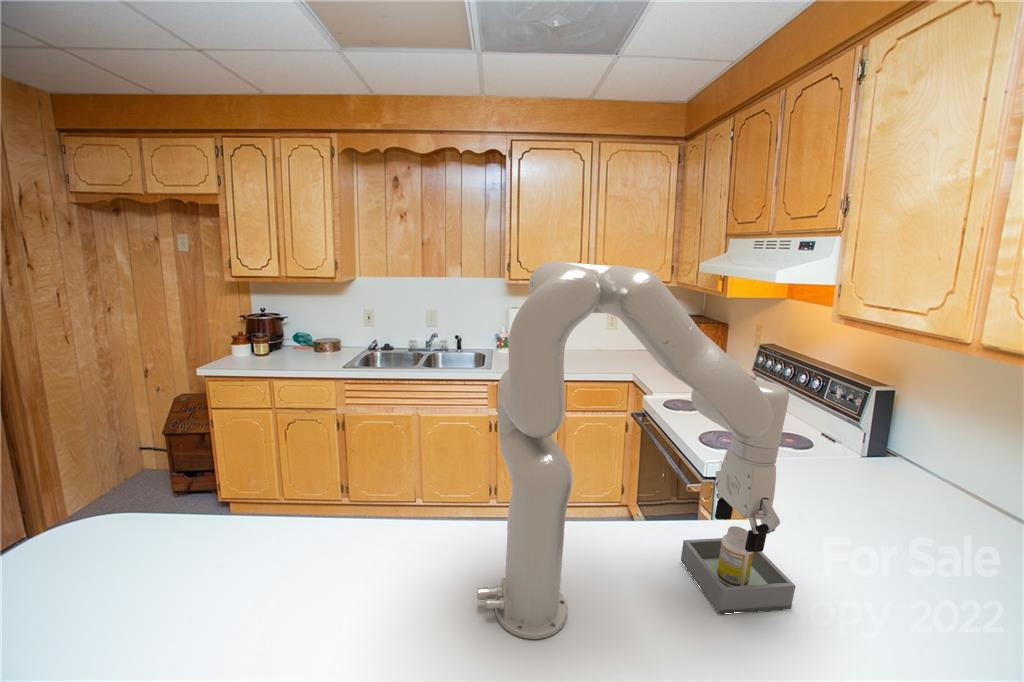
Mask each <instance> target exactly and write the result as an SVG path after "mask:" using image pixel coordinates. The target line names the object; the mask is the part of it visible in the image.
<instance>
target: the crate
mask: <svg viewBox="0 0 1024 682" xmlns="http://www.w3.org/2000/svg"><path fill="white" fill-rule="evenodd" d="M722 538H723V537H722ZM722 538H721V537H718V538H717V537H716V538H703V539H702V538H699V539H697V538H696V539H683V543H682V548H681V549H682V550H681V556H680V562H681V561H682V563H683V564H684V565H685V567H686V568H687V570H688V571H689V572H690V574H691V575H692V577H693V578H694V579H695V581H696V582H697V584H698V585H699V586H700V588H701V589H700V588H699V589H700V591H701V590H702V591H703V592H702V591H701V592H702V593H704V594H705V595H704V594H703V595H704V596H705V598H706V597H707V598H708V599H707V598H706V599H707V601H708V602H709V601H710V602H709V603H710V605H711V604H712V605H713V606H712V605H711V606H712V608H713V609H714V608H715V609H716V610H715V609H714V610H715V612H716V611H717V612H718V613H717V612H716V613H717V614H718V615H719V614H725V613H734V612H753V613H759V612H758V611H766V612H772V611H771V610H779V611H784V610H783V609H791V610H792V605H793V601H794V596H795V591H796V584H794V582H792V580H791V579H789V577H788V576H787V575H785V574H784V572H782V570H780V568H779V567H778V566H777V565H775V563H774V562H773V561H772V560H770V558H769V557H768V556H767V555H766V554H765V553H764V552H763V551H762V552H753V558H752V564H751V570H750V577H749V582H748V585H747V586H732V587H730V586H728V585H726V584H725V583H723V582H722V581H721V580H720V579H719V577H718V575H717V569H718V562H719V555H720V549H721V542H722ZM682 563H681V564H682ZM683 564H682V565H683ZM685 567H684V568H685ZM686 568H685V569H686ZM687 570H686V571H687ZM688 571H687V572H688ZM690 574H689V575H690ZM691 575H690V576H691ZM692 577H691V578H692ZM693 578H692V579H693ZM695 581H694V582H695ZM696 582H695V583H696ZM697 584H696V585H697ZM698 585H697V586H698Z"/></svg>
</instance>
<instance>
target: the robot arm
mask: <svg viewBox="0 0 1024 682" xmlns="http://www.w3.org/2000/svg"><path fill="white" fill-rule="evenodd" d="M527 288H528V289H527V290H528V295H529V296H528V297H527V298H526V299H525V301H524V302H523V303H522V305H521V307H520V308H519V309H518V311H517V313H515V317H514V318H513V321H512V324H511V325H510V326H511V327H510V331H509V335H508V336H509V337H508V368H507V369H506V371H504V373H503V374H502V375H501V377H500V379H499V381H498V386H497V390H496V400H497V401H496V402H497V403H496V404H497V420H498V421H497V422H498V437H499V439H498V440H499V448H500V453H501V457H502V460H503V461H504V464H505V466H506V469H507V472H508V475H509V477H510V482H511V496H510V501H509V505H508V510H507V526H506V530H507V532H506V533H507V534H506V535H507V536H506V550H505V551H506V552H505V553H506V557H505V573H504V574H505V576H504V577H501V583H500V584H495V587H488V586H487V587H485V586H484V587H478V588H477V600H478V601H485V609H486V610H494V612H495V617H496V618H497V621H498V622H499V623H500V625H501V627H503V628H504V629H505V630H506V631H508V632H509V633H511V634H513V635H515V636H518V637H519V638H524V639H530V640H537V639H538V640H540V639H545V638H548V637H551V636H553V635H555V634H556V633H557V632H559V631H560V630H561V629H562V628H563V627H564V625H565V624H566V622H567V617H568V609H569V608H568V603H567V600H566V598H565V597H564V595H563V594H562V593H561V582H562V581H561V580H562V568H563V567H562V566H563V555H564V554H563V552H564V542H565V539H564V538H565V528H566V527H565V524H566V515H567V514H566V513H567V508H568V503H569V499H570V495H571V492H572V488H573V481H574V479H573V471H572V467H571V465H570V462H569V460H568V458H567V455H566V454H565V453H564V451H563V450H562V448H561V447H560V445H559V444H558V442H557V441H556V440H555V438H554V437H553V435H554V434H555V433H556V432H558V431H559V429H560V427H561V426H562V424H563V422H564V419H565V414H566V400H565V399H566V397H565V368H564V367H565V366H564V364H565V348H566V345H567V342H568V339H569V337H570V335H571V333H572V332H573V331H574V329H576V327H577V326H578V325H579V324H581V323H582V322H583V321H584V320H586V319H587V318H588V317H590V315H591V314H609V315H611V316H615V317H617V318H618V319H619V320H620V321H621V322H622V323H623V324H624V325H625V326H626V327H627V329H628V330H629V331H630V332H631V333H632V335H633V336H635V338H636V339H637V340H638V342H640V343H641V345H642V346H643V347H644V348H645V349H646V351H647V352H648V353H649V355H651V357H652V358H653V359H654V360H655V361H656V362H657V364H659V365H660V366H661V367H662V368H663V369H664V370H665V371H667V372H668V373H669V374H670V375H672V376H673V377H675V378H676V379H678V380H679V381H681V382H682V383H684V384H685V385H687V386H688V387H690V388H691V389H692V391H691V396H690V398H691V403H692V406H693V407H694V408H695V410H696V411H697V412H698V413H699V414H700V415H702V416H704V417H705V418H707V419H708V420H710V421H711V422H713V423H715V424H716V425H719V426H720V427H722V429H723V428H724V429H725V430H727V431H729V432H730V433H731V434H732V437H731V443H730V446H729V447H728V448H727V450H726V453H725V454H724V457H723V460H722V463H721V467H720V470H716V471H715V478H716V483H715V487H716V491H717V493H716V499H717V503H716V507H715V513H714V519H716V520H718V521H720V520H721V521H722V520H723V521H725V520H728V521H729V520H731V519H732V515H733V510H734V511H736V512H737V513H738V514H739V515H740V516H741V517H743V518H744V519H748V521H749V525H750V529H749V530H747V531H748V536H747V541H746V546H745V550H746V551H747V552H763V551H764V549H765V543H766V539H767V535H769V534H770V533H773V532H774V531H775V530H776V528H777V527H779V525H780V524H781V521H780V518H779V516H778V515H777V513H776V511H775V509H774V507H773V506H774V505H773V504H774V500H775V492H776V481H777V466H776V463H777V457H778V454H779V448H780V444H781V439H782V435H783V431H784V430H783V429H784V425H785V421H786V415H787V411H788V410H787V409H788V406H789V405H788V404H789V400H790V395H789V394H790V393H789V391H788V389H787V388H786V387H784V386H783V385H780V384H778V383H774V382H772V381H767V380H766V381H765V380H760V379H759V380H755V379H753V377H751V375H750V374H749V373H748V372H747V371H746V370H745V369H744V368H743V367H742V366H741V365H740V364H738V362H736V361H735V360H734V359H733V358H732V357H731V356H730V355H728V353H726V352H725V351H724V350H723V349H722V348H721V347H720V346H719V345H718V344H717V343H715V342H714V341H713V340H712V339H711V338H710V337H709V336H707V335H706V334H705V333H704V332H703V331H702V330H701V329H700V327H698V325H697V324H696V322H695V321H694V320H693V319H692V318H691V316H690V315H689V313H687V311H686V310H685V309H684V307H683V306H682V305H681V304H680V303H679V301H678V300H677V299H676V297H675V296H674V295H673V293H672V292H671V291H670V289H668V287H667V286H666V285H665V283H664V282H663V281H662V279H660V278H659V276H657V275H656V274H655V273H654V272H651V270H647V269H644V268H640V267H634V266H633V267H632V266H625V265H615V264H613V265H609V264H606V265H605V264H594V263H593V264H589V263H578V262H566V261H547V262H544V263H543V264H541V265H539V266H538V267H536V268H535V270H533V272H532V274H531V275H530V277H529V280H528V287H527ZM757 519H759V520H760V523H761V524H759V525H758V523H757Z"/></svg>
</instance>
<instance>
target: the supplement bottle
mask: <svg viewBox="0 0 1024 682" xmlns="http://www.w3.org/2000/svg"><path fill="white" fill-rule="evenodd" d="M748 531H749V530H747V529H745V528H743V527H741V526H736V525H733V526H730V527H728V529H727V532H726V534H725V535H723V537H722V542H721V549H720V555H719V562H718V569H717V575H718V577H719V579H720V580H721V581H722V582H723V583H725V584H726V585H728V586H730V587H732V586H747V585H748V582H749V577H750V570H751V564H752V558H753V552H747V551H746V550H745V546H746V541H747V536H748Z"/></svg>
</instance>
